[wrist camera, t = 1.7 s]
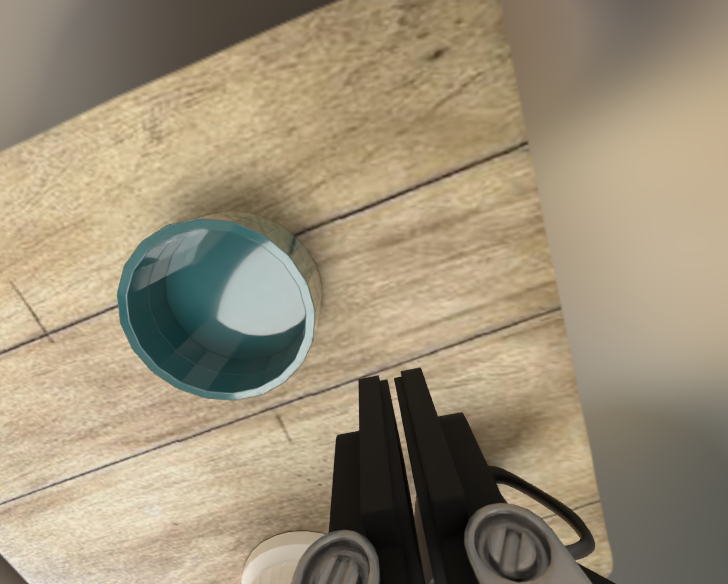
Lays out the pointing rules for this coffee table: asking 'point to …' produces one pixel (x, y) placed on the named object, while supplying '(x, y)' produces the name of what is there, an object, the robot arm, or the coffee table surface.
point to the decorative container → (277, 558)
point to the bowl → (221, 304)
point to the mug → (504, 477)
